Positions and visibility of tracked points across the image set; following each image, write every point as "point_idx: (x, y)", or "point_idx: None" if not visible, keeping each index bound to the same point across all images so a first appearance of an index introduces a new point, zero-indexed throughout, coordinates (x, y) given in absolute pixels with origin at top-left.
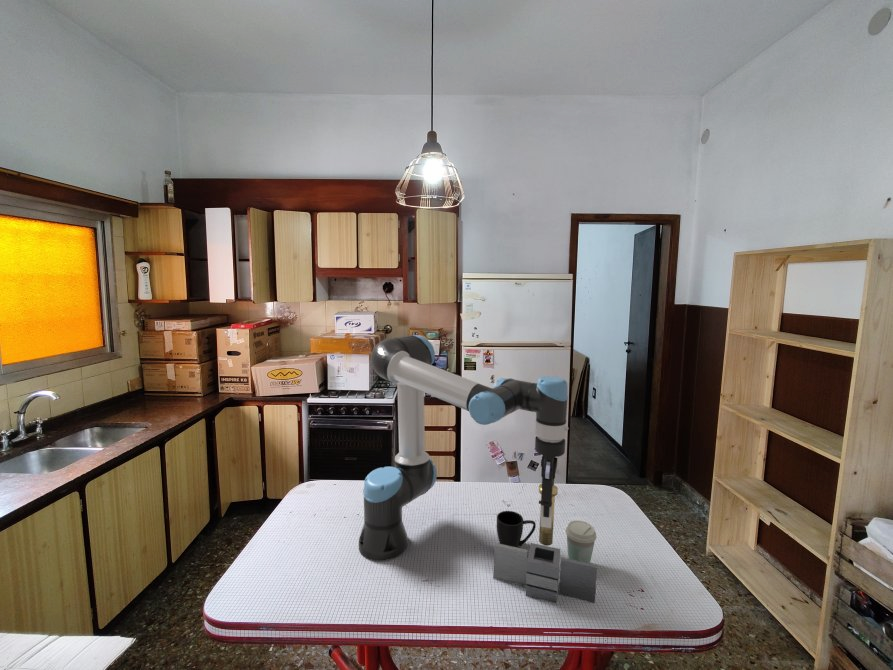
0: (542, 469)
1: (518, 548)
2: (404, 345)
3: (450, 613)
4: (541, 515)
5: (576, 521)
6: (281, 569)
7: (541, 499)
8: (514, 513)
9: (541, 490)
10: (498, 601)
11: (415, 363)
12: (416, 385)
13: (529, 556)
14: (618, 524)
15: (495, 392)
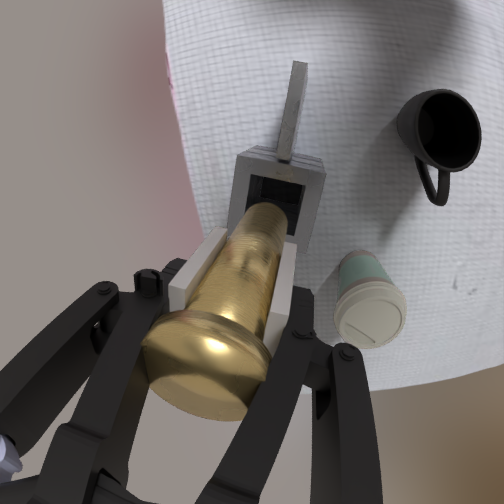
0: (41, 482)
1: (291, 132)
2: None
3: (186, 18)
4: (196, 250)
5: (401, 319)
6: None
7: (74, 302)
8: (473, 151)
9: (146, 336)
10: (230, 91)
11: None
12: None
13: (258, 162)
14: (450, 352)
15: None
